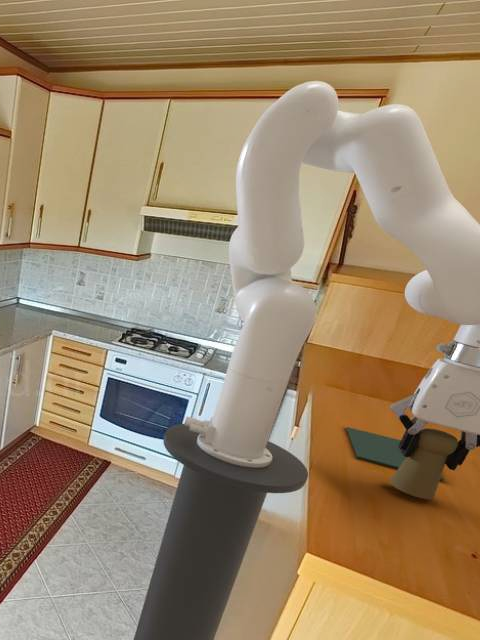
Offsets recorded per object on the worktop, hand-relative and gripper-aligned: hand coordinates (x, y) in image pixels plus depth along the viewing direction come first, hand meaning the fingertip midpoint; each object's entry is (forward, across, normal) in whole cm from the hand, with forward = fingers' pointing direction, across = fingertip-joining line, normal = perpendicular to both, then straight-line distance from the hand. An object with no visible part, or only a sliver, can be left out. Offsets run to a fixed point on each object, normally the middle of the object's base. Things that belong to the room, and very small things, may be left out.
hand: (426, 459), depth 82 cm
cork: (+6, 0, 0) cm, 6 cm away
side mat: (+7, 0, +20) cm, 21 cm away
